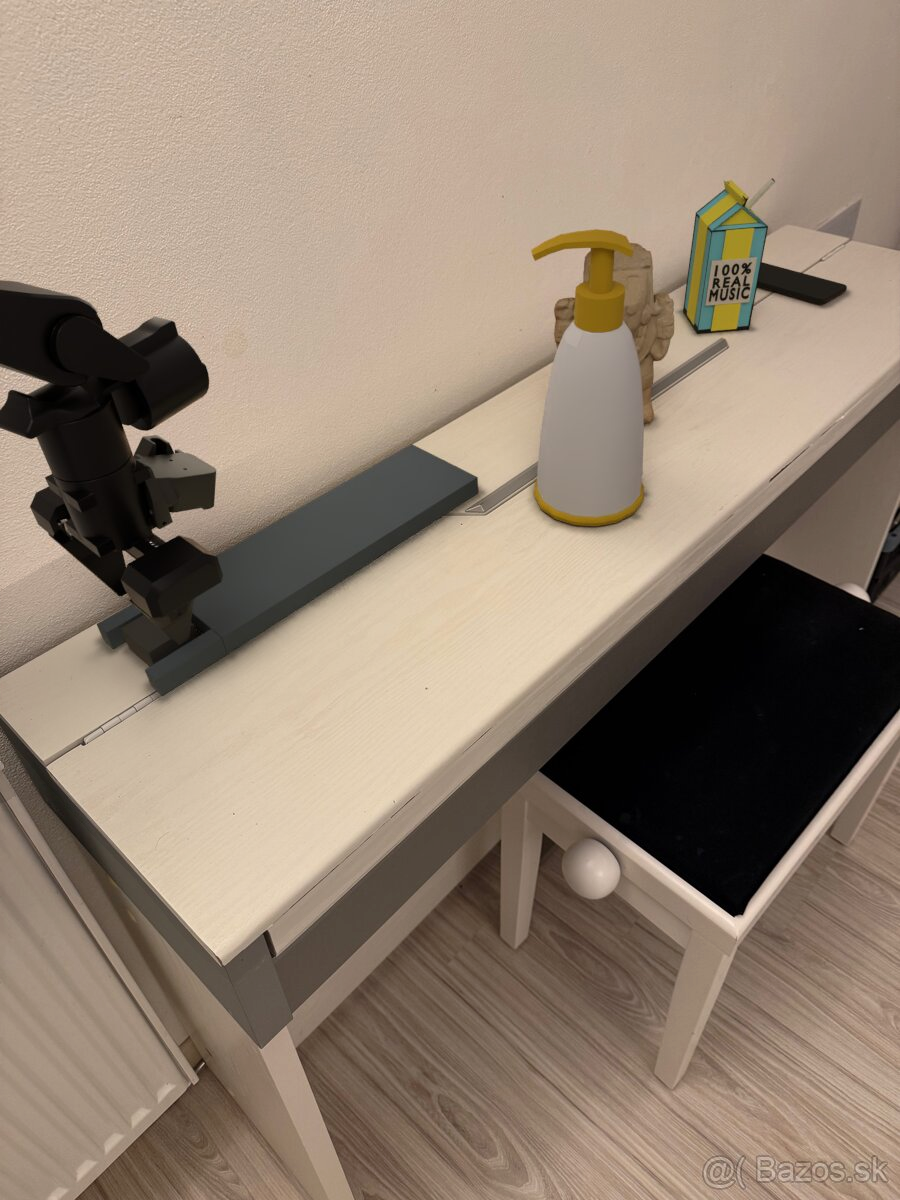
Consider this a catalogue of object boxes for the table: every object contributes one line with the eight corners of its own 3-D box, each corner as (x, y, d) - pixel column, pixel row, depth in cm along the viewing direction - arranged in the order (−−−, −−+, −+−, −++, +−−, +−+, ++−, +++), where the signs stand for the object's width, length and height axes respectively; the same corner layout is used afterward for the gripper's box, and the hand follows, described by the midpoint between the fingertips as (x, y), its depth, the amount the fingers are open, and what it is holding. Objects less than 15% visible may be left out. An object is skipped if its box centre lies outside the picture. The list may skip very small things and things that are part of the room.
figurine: (554, 441, 97) (559, 262, 83) (548, 408, 102) (552, 235, 89) (669, 434, 96) (693, 254, 83) (657, 402, 101) (677, 227, 88)
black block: (129, 648, 75) (120, 628, 74) (172, 621, 78) (165, 601, 76) (157, 673, 73) (148, 652, 71) (201, 644, 75) (193, 624, 74)
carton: (756, 329, 114) (784, 184, 102) (697, 334, 114) (718, 190, 102) (738, 306, 120) (762, 166, 107) (682, 311, 119) (700, 171, 107)
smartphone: (755, 259, 129) (849, 285, 120) (754, 265, 130) (847, 291, 121) (728, 273, 126) (823, 300, 117) (727, 278, 126) (822, 306, 118)
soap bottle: (525, 469, 93) (525, 216, 75) (633, 462, 92) (658, 207, 75) (535, 533, 84) (538, 265, 67) (653, 526, 84) (687, 255, 67)
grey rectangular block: (162, 696, 71) (155, 680, 70) (103, 639, 77) (95, 623, 75) (478, 492, 90) (477, 477, 89) (413, 459, 95) (411, 443, 94)
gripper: (257, 456, 62) (296, 615, 72) (122, 380, 72) (173, 529, 82) (120, 529, 56) (183, 690, 66) (-6, 435, 66) (66, 588, 76)
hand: (152, 616), depth 73 cm, fingers open, 9 cm apart
